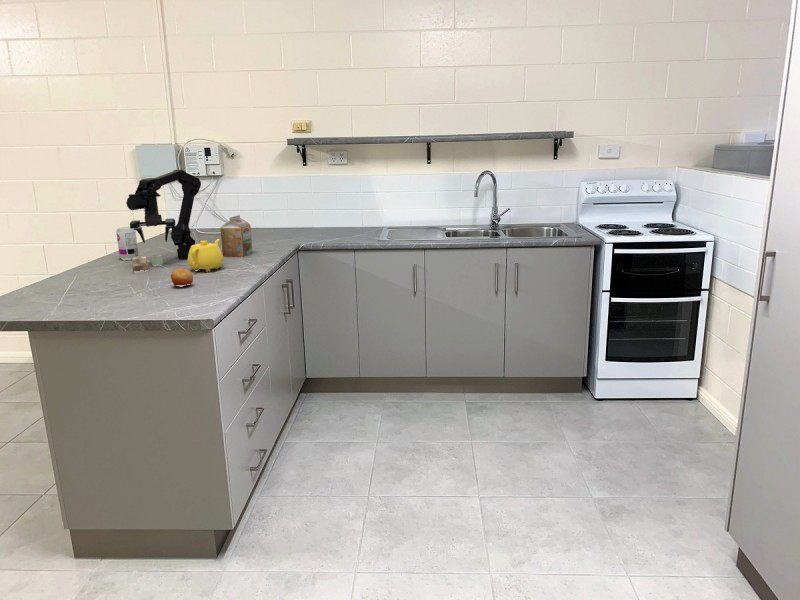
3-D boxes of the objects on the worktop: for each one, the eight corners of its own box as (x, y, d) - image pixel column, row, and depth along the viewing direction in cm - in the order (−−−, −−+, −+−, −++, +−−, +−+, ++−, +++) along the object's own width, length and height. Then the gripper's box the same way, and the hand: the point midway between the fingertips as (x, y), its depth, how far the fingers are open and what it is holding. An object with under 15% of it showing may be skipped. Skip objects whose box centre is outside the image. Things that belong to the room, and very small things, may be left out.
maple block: (147, 262, 267) (146, 256, 266) (146, 265, 262) (145, 258, 262) (134, 263, 265) (133, 257, 265) (133, 266, 261) (132, 259, 260)
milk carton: (243, 257, 293) (239, 217, 288) (222, 256, 295) (219, 217, 290) (252, 253, 303) (249, 215, 298) (232, 252, 305) (229, 214, 300)
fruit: (183, 278, 244) (187, 263, 239) (193, 291, 241) (198, 275, 236) (164, 282, 238) (168, 266, 233) (175, 295, 235) (179, 279, 230)
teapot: (180, 273, 261) (177, 243, 258) (209, 263, 279) (206, 236, 276) (207, 274, 257) (204, 244, 253) (235, 265, 275) (232, 237, 272)
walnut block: (149, 270, 268) (148, 262, 268) (148, 273, 263) (147, 265, 262) (134, 271, 267) (133, 263, 266) (133, 274, 261) (132, 266, 260)
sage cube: (163, 263, 281) (162, 254, 280) (162, 265, 277) (161, 256, 276) (153, 264, 280) (151, 255, 279) (152, 266, 276) (151, 256, 274)
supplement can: (118, 261, 288) (114, 229, 284) (121, 258, 296) (117, 227, 292) (137, 260, 290) (133, 228, 286) (139, 257, 298) (135, 226, 294)
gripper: (126, 210, 261) (131, 246, 266) (172, 208, 267) (176, 243, 271) (129, 208, 272) (133, 242, 276) (173, 205, 277) (177, 240, 281)
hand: (155, 242), depth 276 cm, fingers open, 9 cm apart
